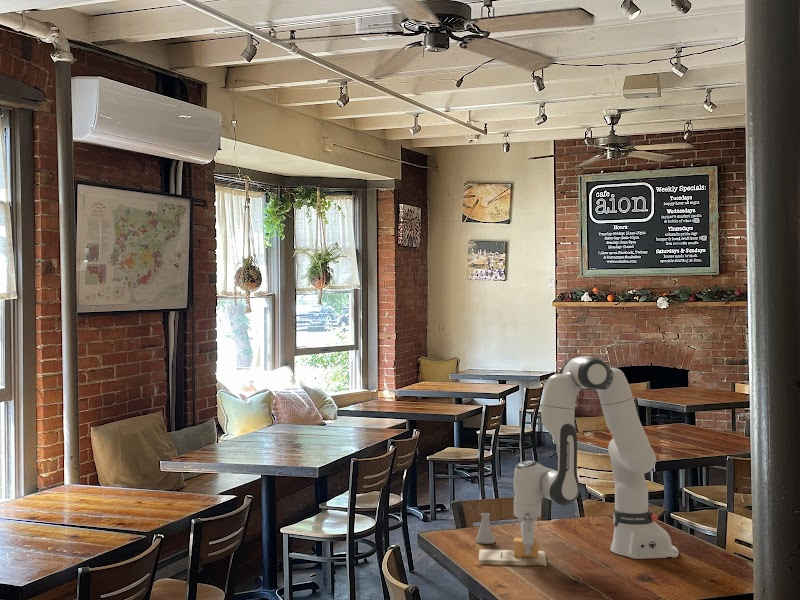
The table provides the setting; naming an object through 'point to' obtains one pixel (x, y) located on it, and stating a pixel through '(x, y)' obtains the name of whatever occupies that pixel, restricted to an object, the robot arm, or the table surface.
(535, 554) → the block
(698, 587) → the table surface
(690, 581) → the table surface
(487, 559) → the birch board
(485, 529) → the flask
